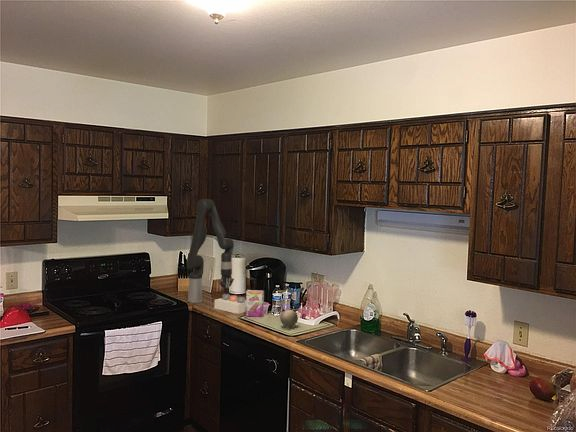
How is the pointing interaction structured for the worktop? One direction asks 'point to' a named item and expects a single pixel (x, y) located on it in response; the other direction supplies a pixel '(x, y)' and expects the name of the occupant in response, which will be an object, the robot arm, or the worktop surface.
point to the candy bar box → (254, 303)
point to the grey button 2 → (240, 299)
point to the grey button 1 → (226, 296)
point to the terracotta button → (233, 298)
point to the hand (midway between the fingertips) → (226, 293)
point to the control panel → (230, 306)
